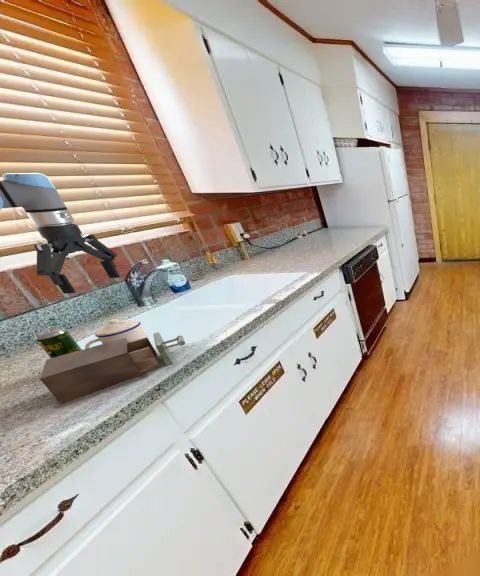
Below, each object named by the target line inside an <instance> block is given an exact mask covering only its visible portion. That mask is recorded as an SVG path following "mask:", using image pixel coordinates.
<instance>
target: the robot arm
mask: <svg viewBox="0 0 480 576" xmlns="http://www.w3.org/2000/svg"><path fill="white" fill-rule="evenodd" d="M10 208H11V209H12V208H13V209H14V208H23V210H24V212H25V213H26V215H27V216H28V218H29V219H30V221H31V223H32V224H33V225H34V226H36V230H37V232H38V233H39V234H40V236H41V238H43V239H45V240H46V243H35V244H33V247H34V249H35V250H36V275H37V276H38V277H49V279H50V280H51V282H52V283H53V285H55V286H57V285H58V286H59V287H58V288H59V289H60V291H61V292H62V293H63V294H76V293H77V291H76V290H75V288H74V286H73V285H72V284H71V282H70V280H69V279H68V277H67V276H66V274H65V273H61V272H62V270H63V266H64V263H65V261H66V259H67V257H68V256H69V255H70V254H74V253H76V252H83V253H86V254H87V255H90V256H92V257H95V258H97V259H99V260H100V261H99V263H100V265H101V266H102V267H103V269H104V272H105V274H107V276H108V278H109V279H119V278H121V276H120V274H119V273H118V270H117V266H116V264H115V262H114V261H115V260H116V257H118V254H117V253H116V252H114V251H113V250H112V249H110V248H109V247H108V246H106V245H105V244H104V243H103V242H101V241H100V240H98V238H97V237H96V236H95V234H93V233H92V234H82V231H81V228H80V227H79V225H78V224H77V223H75V219H74V217H73V215H72V214H71V212H70V210H69V209H68V207H67V206H66V204H65V202H64V200H63V199H62V197H61V195H60V193H59V191H58V190H57V187H55V186H54V184H53V183H52V181H51V180H50V178H49V176H48V175H46V174H43V173H41V172H18V173H17V172H13V173H3V174H2V180H0V211H1V210H2V209H10Z"/></svg>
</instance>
